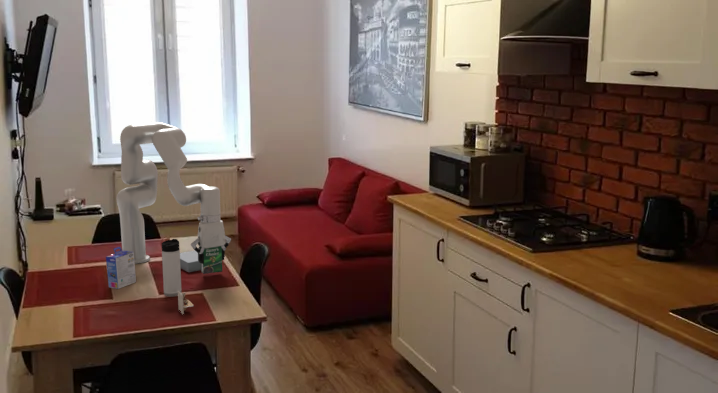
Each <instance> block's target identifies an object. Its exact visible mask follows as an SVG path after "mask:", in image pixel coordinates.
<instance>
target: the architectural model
mask: <svg viewBox="0 0 718 393" xmlns="http://www.w3.org/2000/svg"><path fill="white" fill-rule="evenodd" d="M186 294H187V292H186V291H185V292H182V293H180V292H179V291H178V296H177V305H178V306H177V307H178V311H179V310H180V311H181V312H180V311H179V312H180V313H181V315H183V314H184V315H185V312H186V310H187V308H191V307H194V304H193V303H192V302H191V301H190V300H189V299H187V298H186Z"/></svg>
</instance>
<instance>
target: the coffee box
mask: <svg viewBox="0 0 718 393" xmlns="http://www.w3.org/2000/svg"><path fill="white" fill-rule="evenodd" d="M201 248H202V247H201ZM203 254H204V264H201V269H202V270H201V273H202V275H206V274H215V273H221V272H223V260H222V247H221V246H219V247H213V248H206V249H204V251H203Z"/></svg>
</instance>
